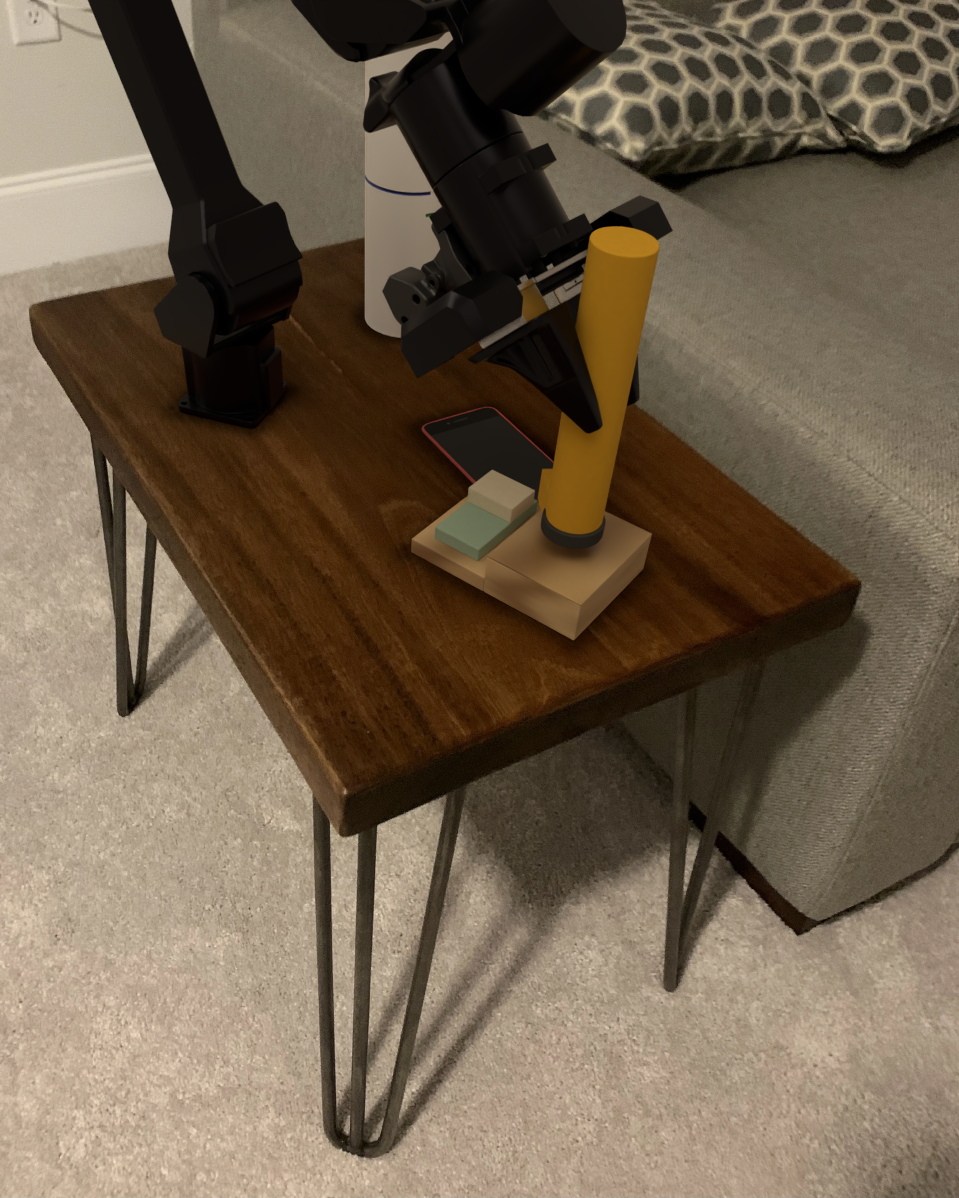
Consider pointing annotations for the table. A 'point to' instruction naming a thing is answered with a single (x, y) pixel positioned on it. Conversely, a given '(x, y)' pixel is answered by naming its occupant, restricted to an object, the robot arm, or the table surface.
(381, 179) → the cylindrical container
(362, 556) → the table surface
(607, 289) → the tall yellow cylinder post
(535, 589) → the flat tan slab box
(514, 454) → the smartphone
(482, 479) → the two-tone stepped block
